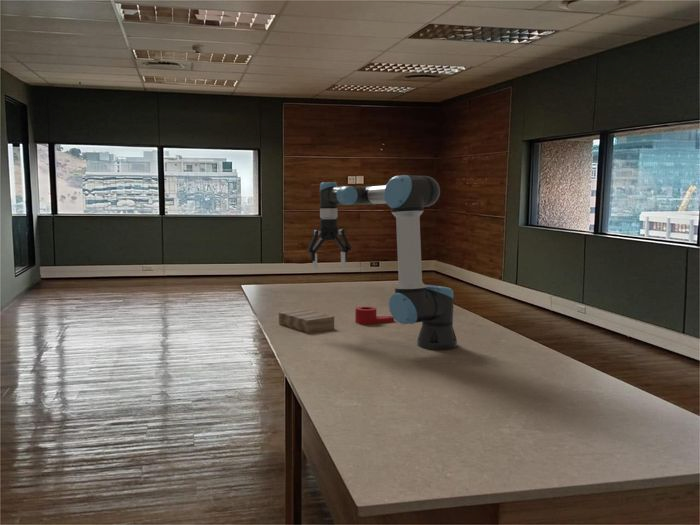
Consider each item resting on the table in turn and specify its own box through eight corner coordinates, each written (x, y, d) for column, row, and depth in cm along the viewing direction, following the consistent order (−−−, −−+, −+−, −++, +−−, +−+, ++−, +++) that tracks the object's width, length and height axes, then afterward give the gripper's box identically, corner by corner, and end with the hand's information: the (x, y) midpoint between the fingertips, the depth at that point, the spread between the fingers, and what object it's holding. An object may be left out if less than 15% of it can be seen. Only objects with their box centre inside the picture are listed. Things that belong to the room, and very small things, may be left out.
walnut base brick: (334, 330, 268) (334, 316, 268) (307, 334, 260) (307, 320, 259) (305, 321, 285) (305, 308, 285) (278, 325, 277) (278, 312, 276)
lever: (358, 325, 277) (358, 310, 276) (353, 321, 286) (353, 306, 285) (397, 323, 281) (397, 308, 281) (390, 319, 291) (390, 305, 290)
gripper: (350, 217, 278) (350, 265, 281) (298, 218, 266) (299, 268, 268) (358, 218, 272) (358, 267, 274) (306, 219, 260) (306, 270, 262)
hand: (329, 267), depth 271 cm, fingers open, 13 cm apart
